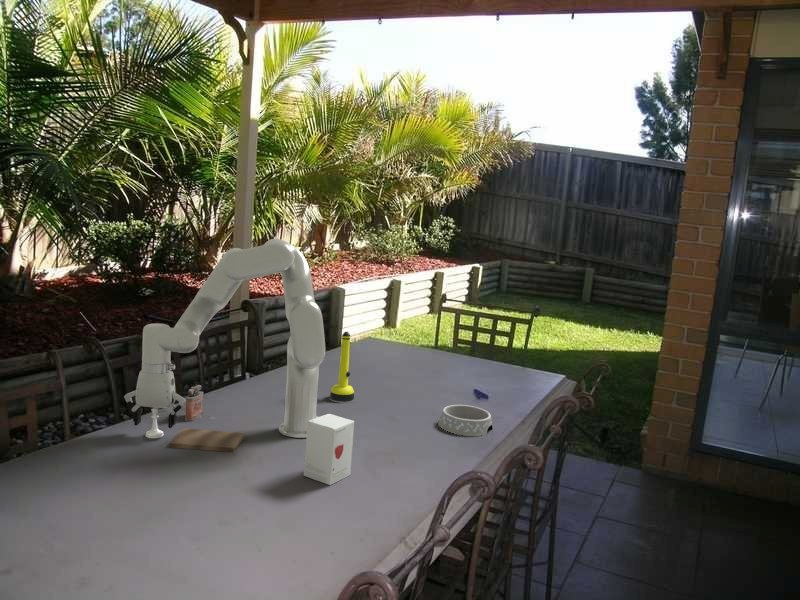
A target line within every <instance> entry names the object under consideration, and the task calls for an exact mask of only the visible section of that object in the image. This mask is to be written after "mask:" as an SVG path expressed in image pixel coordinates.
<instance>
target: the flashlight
mask: <svg viewBox="0 0 800 600" xmlns="http://www.w3.org/2000/svg"><path fill="white" fill-rule="evenodd" d="M351 338H352V337H351V334H350V332H349V331H344V332H343V333H342V335H341V347H340V348H341V349H340V357H339V369H338V379H337V380H338V382H337V384H333V386H332V388H331V389H330V395H329V400H330V401H331V402H335V403H341V404H349V403H352V402H354V401H355V390H354V388H353V386H352V385H349V377H350V376H351V372H350V371H349V366H350V346H351V345H350V343H351Z"/></svg>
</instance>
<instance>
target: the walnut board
mask: <svg viewBox="0 0 800 600" xmlns="http://www.w3.org/2000/svg"><path fill="white" fill-rule="evenodd" d="M245 434H246V432H240V431H239V432H238V431H237V432H236V431H224V430H213V429H211V430H210V429H199V428H188V427H187V428H185V427H184V428H182V429H181V430H180V431H179V433H177V434H176V435H175V436H174V438H172V440H170V442H169V444H168V447H169V448H175V449H189V450H201V451H202V450H203V451H204V450H205V451H214V450H215V451H216V452H227V451H232V452H231V453H235V452H236V450H237V449H238V447H239V446H240V444H241V443H242V441H243V440H244V438H245V437H246V435H245ZM244 436H245V437H244ZM242 439H243V440H242ZM240 442H241V443H240ZM238 445H239V446H238ZM236 448H237V449H236ZM234 451H235V452H234Z"/></svg>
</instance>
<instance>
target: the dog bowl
mask: <svg viewBox="0 0 800 600" xmlns="http://www.w3.org/2000/svg"><path fill="white" fill-rule="evenodd" d="M492 421H493V420H492V415H491V413H490V412H489V411H488V410H485V409H483V408H481V407H477V406H473V405H470V404H469V405H467V404H451V405H447V406H445V407H443V409H442V412H441V414H440V417H439V420H438V422H437V423H438V424H437V425H438V427H439V428H440V427H441V428H442V429H441V428H440V429H441V430H443V429H444V430H443V431H445V430H446V431H445V432H447V431H448V433H449V432H451V434H452V433H454V434H453V435H456V434H457V435H458V436H462V435H463V437H481V435H484V436H487V432H488V429H489V428H491V427H492V428H491V429H492V430H493V422H492Z"/></svg>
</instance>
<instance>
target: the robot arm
mask: <svg viewBox="0 0 800 600" xmlns="http://www.w3.org/2000/svg"><path fill="white" fill-rule="evenodd" d="M310 269H311V268H310V266H309V263H308V261H307V260H306V258H305V256H304V254H303V253H302V252H301V251H300V250H299V249H298V248H297V247H296V246H294V245H293V244H292V243H290V242H287V241H286V240H284V239H281V238H271V239H269V240H267V241H266V242H265V243H264V244H262V245H258V246H254V247H249V248H243V249H242V248H239V247H233V248H230V249H228V250H227V251H226V252H225V253H224V254H223V255H222V257H221V259H220V260H219V261H218V263H217V264H216V266H215V267H214V268H213V270H212V272H211V273H210V275H209V276H208V277H207V279H206V280H205V282H204V283H203V285H202V286H201V287H200V288H199V290H198V291H197V293H196V295H195V296H194V298H193V299H192V301H191V302H190V304H188V307H186V309H185V310H184V312H183V313H182V315H181V317H180V318H179V319H178V321H177V322H176V324H175V325H174V326H173V327H170V325H169V324H165V323H149V324H146V325H145V326H143V329H142V355H141V361H142V362H141V370H140V371H139V372H138V373H139V374H138V377H137V382H136V388H135V390H133V391H131V392H128V393H126V394H125V395H124V396H123V398H124V400H125V402H126V405H127V406H128V407H129V408H130V409H131V410H130V411H131V412H132V421H133V425H134V426H138V425H139V424H141V422H142V409H141V407H147V408H153V407H157V408H159V409H166V410H167V411H168V412H169V414H168V420H167V421H168V422H167V423H168V424H167V427H168V428H169V429H172V428H173V427H174V426H176V424H177V423H176V422H177V413H178V412H179V411H180V410H181V409H183V407H184V405H185V404H186V399H185V397H183V396H181V395H180V394H178V393H177V392H176V383H175V376H174V371H172V370H176V364H173V363H172V361H171V355H172V353H171V352H173V353H174V352H175V353H180V354H181V353H182V354H187V353H188V354H189V353H192V352H193V351H194V350H196V349H197V348H198V346H199V343H200V336H201V334H202V332H203V331H204V329H205V328H206V327H207V326H208V324H209V322H210V321H211V319H213V317H214V316H215V315H216V314H217V313H218V312H220V311H221V310H223V309H224V308H225V307H226V306H227V305H228V303H229V302H230V300H231V299H232V298H233V296H234V294H235V293H236V291H237V290H238V288H240V286H241V284H242V283H243V281H247V280H252V279H257V278H261V277H266V276H270V275H273V274H274V275H275V274H278V273H280V275H281V280H282V286H283V293H284V303H285V306H284V307H285V317H286V319H287V321H288V323H289V330H290V331H289V332H290V336H289V339H288V340H287V344H286V345H287V346H286V356H287V357H286V361H287V362H286V367H287V368H286V385H285V399H284V400H285V401H284V402H285V403H284V420H283V421H284V422H282V423H281V424H280V425H279V426H278V432H279V433H280V434H281V435H283V436H285V437H290V438H295V439H296V438H297V439H300V438H301V439H305V438H306V437H307V423H308V421H309V420H312V419H315V418H317V417H319V416H318V414H317V404H318V403H317V402H318V388H319V387H318V386H319V378H320V377H319V376H320V375H319V372H320V371H319V369H320V365H321V364H322V363H323V362H324V359H325V356H326V341H325V339H326V338H325V330H324V321H323V320H324V319H323V314H322V310H321V308H320V306H319V305H318V304H317V303H316V300H315V296H314V289H313V287H314V286H313V279H312V274H311V270H310ZM132 397H135V400H133V398H132ZM176 401H177V402H178V403H177V406H176V405H175V403H176Z"/></svg>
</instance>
